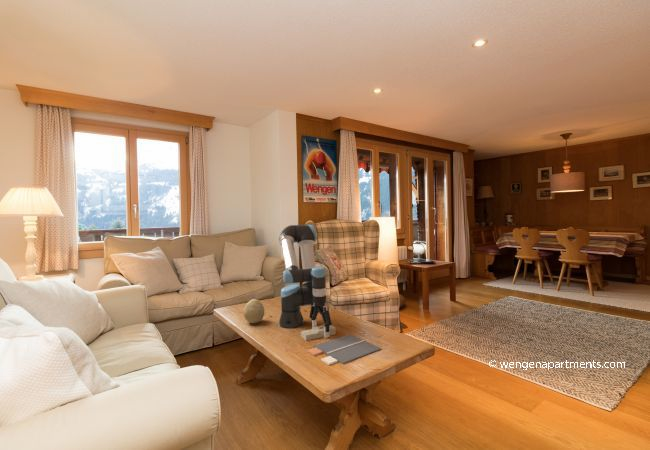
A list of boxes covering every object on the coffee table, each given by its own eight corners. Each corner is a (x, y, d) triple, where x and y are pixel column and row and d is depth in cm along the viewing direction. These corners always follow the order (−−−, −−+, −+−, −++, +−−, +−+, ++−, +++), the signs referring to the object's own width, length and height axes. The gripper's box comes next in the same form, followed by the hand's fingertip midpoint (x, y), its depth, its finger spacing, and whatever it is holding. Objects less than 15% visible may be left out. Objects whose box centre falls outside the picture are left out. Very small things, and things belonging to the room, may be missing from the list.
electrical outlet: (300, 329, 176) (330, 323, 184) (301, 336, 176) (330, 330, 184) (305, 333, 170) (335, 327, 177) (306, 341, 170) (335, 334, 178)
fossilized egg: (260, 318, 209) (259, 295, 209) (268, 323, 199) (267, 299, 198) (241, 322, 202) (240, 299, 202) (248, 327, 192) (247, 303, 191)
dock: (304, 349, 158) (304, 347, 158) (349, 335, 175) (349, 333, 175) (332, 367, 139) (332, 365, 139) (381, 349, 156) (381, 347, 156)
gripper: (302, 292, 184) (303, 329, 185) (326, 300, 165) (327, 342, 166) (313, 290, 188) (314, 326, 189) (337, 298, 169) (339, 338, 170)
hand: (320, 334), depth 177 cm, fingers open, 11 cm apart
